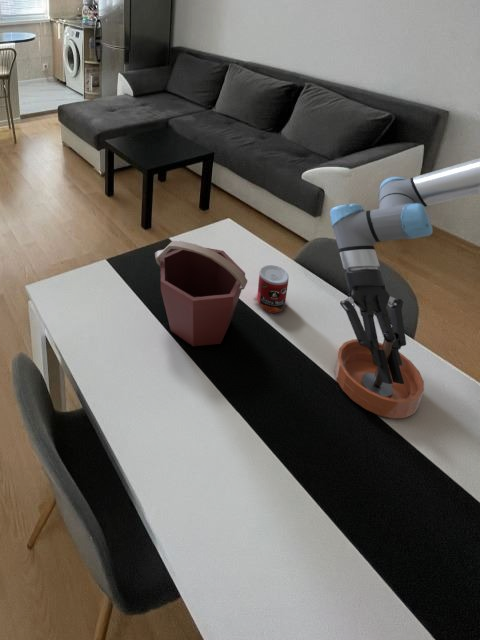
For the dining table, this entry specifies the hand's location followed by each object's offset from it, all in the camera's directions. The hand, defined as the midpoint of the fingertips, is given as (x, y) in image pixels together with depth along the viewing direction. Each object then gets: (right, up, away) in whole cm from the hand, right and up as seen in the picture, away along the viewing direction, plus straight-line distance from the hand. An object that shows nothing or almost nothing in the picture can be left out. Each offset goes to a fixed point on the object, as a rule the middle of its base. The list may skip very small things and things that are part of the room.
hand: (393, 382), depth 93 cm
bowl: (+2, -6, +8) cm, 10 cm away
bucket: (-34, 0, +30) cm, 45 cm away
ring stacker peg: (+1, -5, +6) cm, 8 cm away
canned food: (-11, +3, +34) cm, 36 cm away
